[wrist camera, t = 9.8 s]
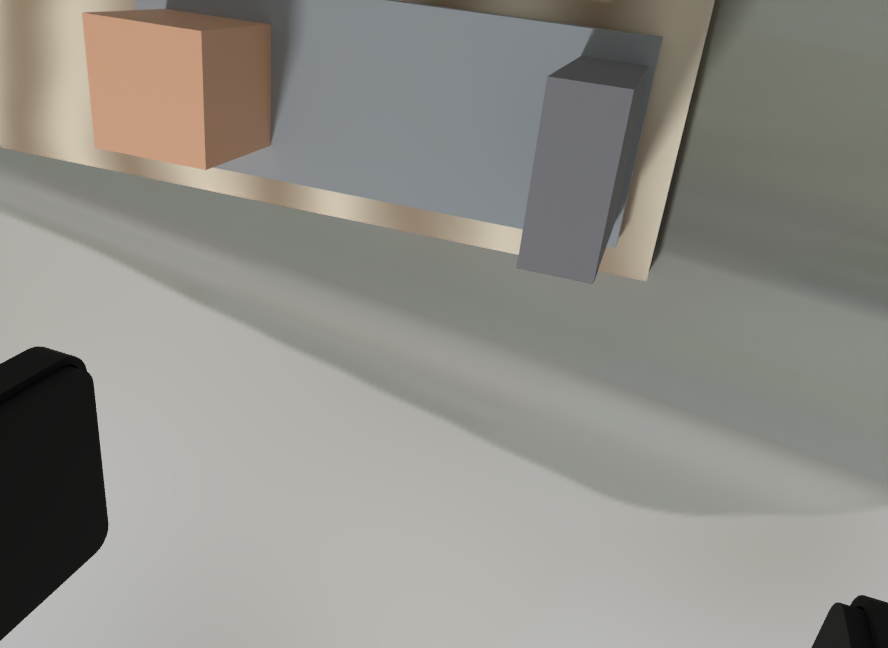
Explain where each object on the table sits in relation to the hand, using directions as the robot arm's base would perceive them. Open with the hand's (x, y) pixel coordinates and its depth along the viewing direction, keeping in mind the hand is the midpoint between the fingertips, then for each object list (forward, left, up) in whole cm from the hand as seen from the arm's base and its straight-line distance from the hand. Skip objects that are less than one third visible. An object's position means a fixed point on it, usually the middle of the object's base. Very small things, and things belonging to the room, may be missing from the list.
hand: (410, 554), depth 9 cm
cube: (+17, -1, -23) cm, 29 cm away
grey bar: (+10, -1, -24) cm, 26 cm away
